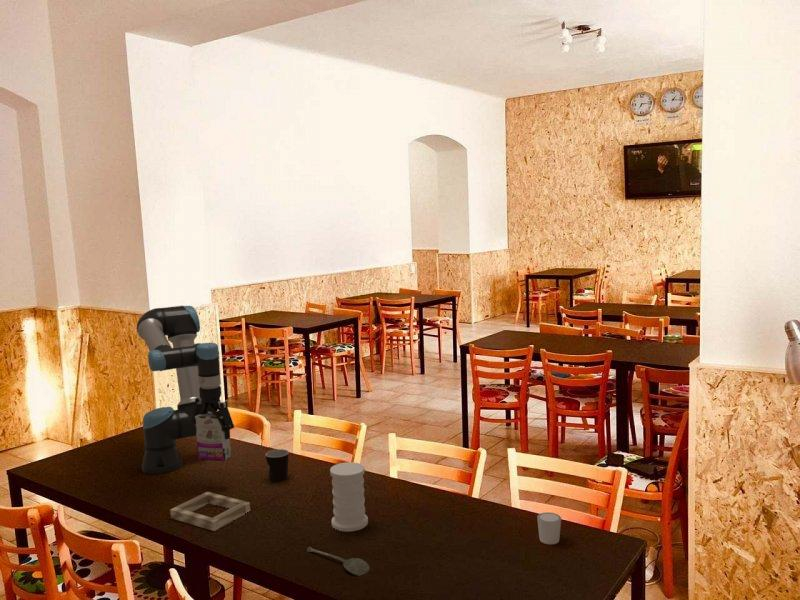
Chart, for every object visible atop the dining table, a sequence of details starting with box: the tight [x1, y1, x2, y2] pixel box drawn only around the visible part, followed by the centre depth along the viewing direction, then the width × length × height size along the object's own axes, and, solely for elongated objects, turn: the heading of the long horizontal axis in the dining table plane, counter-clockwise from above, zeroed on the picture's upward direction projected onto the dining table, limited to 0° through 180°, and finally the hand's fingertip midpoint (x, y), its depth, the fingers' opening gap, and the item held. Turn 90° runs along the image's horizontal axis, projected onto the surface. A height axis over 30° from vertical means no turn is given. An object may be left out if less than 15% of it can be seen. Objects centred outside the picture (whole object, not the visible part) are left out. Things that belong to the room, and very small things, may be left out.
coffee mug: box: [264, 448, 290, 483], centre depth 248 cm, size 12×9×10 cm
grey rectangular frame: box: [169, 491, 251, 532], centre depth 218 cm, size 20×16×3 cm
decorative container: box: [329, 461, 369, 533], centre depth 208 cm, size 12×12×18 cm
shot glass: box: [536, 512, 562, 545], centre depth 193 cm, size 7×7×7 cm
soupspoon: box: [306, 546, 371, 577], centre depth 185 cm, size 22×3×7 cm
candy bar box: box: [195, 413, 232, 462], centre depth 239 cm, size 11×5×16 cm, turn 76°
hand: (213, 444), depth 239 cm, fingers closed on candy bar box, 12 cm apart
